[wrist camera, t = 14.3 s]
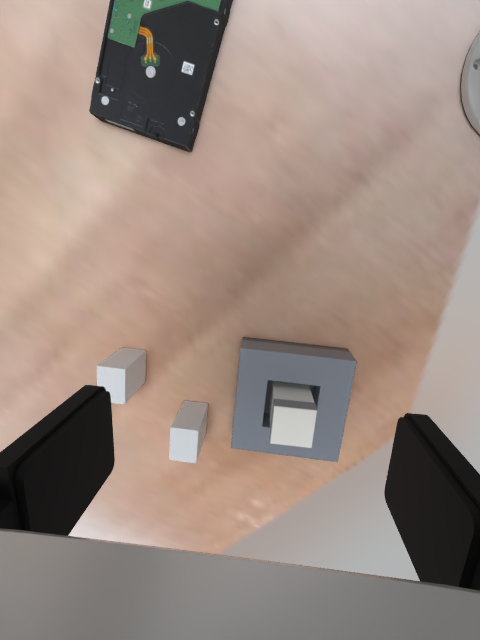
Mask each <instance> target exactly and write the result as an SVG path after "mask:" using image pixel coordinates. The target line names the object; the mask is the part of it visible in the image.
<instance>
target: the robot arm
mask: <svg viewBox="0 0 480 640" xmlns="http://www.w3.org/2000/svg"><path fill="white" fill-rule="evenodd" d="M474 68H475V69H474ZM461 93H462V102H463V106H464V109H465V113H466V115H467V117H468V119H469V121H470V123H471V125H472V126H473V127H474V128H475V130H476V131H477V132H478V133H479V134H480V33H479V34H478V36H477V37H476V39H475V40H474V42H473V44H472V46H471V48H470V51H469V53H468V55H467V57H466V61H465V65H464V68H463V72H462V82H461ZM113 467H114V443H113V427H112V411H111V396H110V392H109V391H106V389H105V387H103V386H92V385H85V386H84V387H82V388H81V389H80V390H79V391H77V392H76V393H75V394H73V395H72V396H71V397H70V398H68V399H67V400H66V401H65V402H63V403H62V404H61V405H60V406H58V407H57V408H56V409H55V410H53V411H52V412H51V413H49V414H48V415H47V416H46V417H44V418H43V419H42V420H41V421H39V422H38V423H37V424H36V425H34V426H33V427H32V428H31V429H29V430H28V431H27V432H25V433H24V434H23V435H22V436H20V437H19V438H18V439H17V440H15V441H14V442H13V443H12V444H10V445H9V446H8V447H6V448H5V449H4V450H3V451H1V452H0V640H480V474H479V473H478V472H477V471H476V470H475V469H474V468H473V466H472V465H471V464H470V463H469V462H468V461H467V459H466V458H465V457H464V456H463V455H462V454H461V453H460V452H459V450H458V449H457V448H456V447H455V446H454V445H453V444H452V442H451V441H450V440H449V439H448V438H447V437H446V436H445V434H444V433H443V432H442V431H441V430H440V429H439V428H438V426H437V425H436V424H435V423H434V422H433V421H432V420H431V419H430V417H428V416H427V415H421V414H410V413H407V414H405V416H404V418H402V417H400V418H399V419H398V422H397V427H396V433H395V438H394V443H393V449H392V454H391V459H390V464H389V470H388V476H387V480H386V485H385V499H386V503H387V505H388V508H389V510H390V512H391V515H392V517H393V519H394V521H395V524H396V526H397V529H398V531H399V533H400V535H401V538H402V540H403V542H404V545H405V547H406V549H407V552H408V554H409V556H410V559H411V561H412V563H413V566H414V568H415V570H416V573H417V575H418V577H419V579H420V581H413V580H406V579H399V578H392V577H384V576H377V575H369V574H362V573H355V572H347V571H339V570H332V569H324V568H317V567H310V566H302V565H295V564H287V563H280V562H272V561H265V560H256V559H249V558H242V557H233V556H226V555H218V554H211V553H203V552H195V551H187V550H179V549H171V548H163V547H155V546H147V545H139V544H131V543H122V542H114V541H106V540H98V539H89V538H81V537H73V536H68V535H69V533H70V532H71V530H72V529H73V527H74V526H75V524H76V523H77V522H78V520H79V519H80V517H81V516H82V514H83V513H84V511H85V510H86V508H87V507H88V505H89V504H90V503H91V501H92V500H93V498H94V497H95V495H96V494H97V492H98V491H99V489H100V488H101V486H102V485H103V484H104V482H105V481H106V479H107V478H108V476H109V475H110V473H111V472H112V470H113Z"/></svg>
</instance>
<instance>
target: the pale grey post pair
mask: <svg viewBox="0 0 480 640" xmlns="http://www.w3.org/2000/svg"><path fill="white" fill-rule="evenodd" d="M145 381H146V350H139V349H130V348H121V349H119V350H118V351H117V352H115V353H114V354H112V355H111V356H110V357H108V358H107V359H106V360H104V361H103V362H102V363H100V364H99V365H97V386H103V387H105V389H106V391H109V392H110V396H111V403H117V404H126V403H127V402H128V400H129V399H130V398H131V397H132V396H133V395H134V394H135V392H136V391H137V390H138V389H139V388H140V387H141V385H142V384H143V383H144V382H145ZM207 414H208V403H201V402H193V401H185V400H184V402H183V404H182V406H181V408H180V410H179V412H178V414H177V416H176V418H175V420H174V422H173V424H172V426H171V430H170V452H169V460H175V461H182V462H190V463H196V462H197V459H198V456H199V453H200V450H201V447H202V443H203V440H204V437H205V434H206V427H207Z"/></svg>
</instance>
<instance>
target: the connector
mask: <svg viewBox="0 0 480 640" xmlns="http://www.w3.org/2000/svg"><path fill="white" fill-rule="evenodd" d="M269 409H270V443H271V444H280V445H289V446H297V447H306V448H312V443H313V436H314V430H315V423H316V416H317V407H316V404H315V403H314V400H313V396H312V393H311V390H310V386H309V385H307V384H298V383H290V382H281V381H273V380H272V389H271V398H270V408H269Z"/></svg>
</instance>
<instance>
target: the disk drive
mask: <svg viewBox="0 0 480 640" xmlns="http://www.w3.org/2000/svg"><path fill="white" fill-rule="evenodd" d="M232 1H233V0H110V3H109V10H108V13H107V20H106V25H105V29H104V36H103V41H102V46H101V51H100V57H99V62H98V67H97V72H96V78H95V82H94V86H93V91H92V97H91V98H92V99H91V106H90V110H89V111H90V113H91V114H92V115H94V116H95V117H96V118H98V119H99V120H101V121H103V122H106V123H109V124H111V125H115V126H117V127H120V128H123V129H126V130H129V131H131V132H134V133H137V134H139V135H143V136H145V137H148V138H151V139H154V140H157V141H159V142H162V143H165V144H168V145H171V146H174V147H177V148H180V149H183V150H185V151H188V152H191V151H192V148H193V144H194V140H195V139H196V136H197V132H198V129H199V122H200V119H201V115H202V111H203V107H204V104H205V100H206V96H207V92H208V89H209V85H210V81H211V78H212V74H213V70H214V67H215V62H216V59H217V55H218V52H219V48H220V44H221V41H222V37H223V33H224V30H225V27H226V25H227V22H228V18H229V14H230V8H231V5H232Z"/></svg>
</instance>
